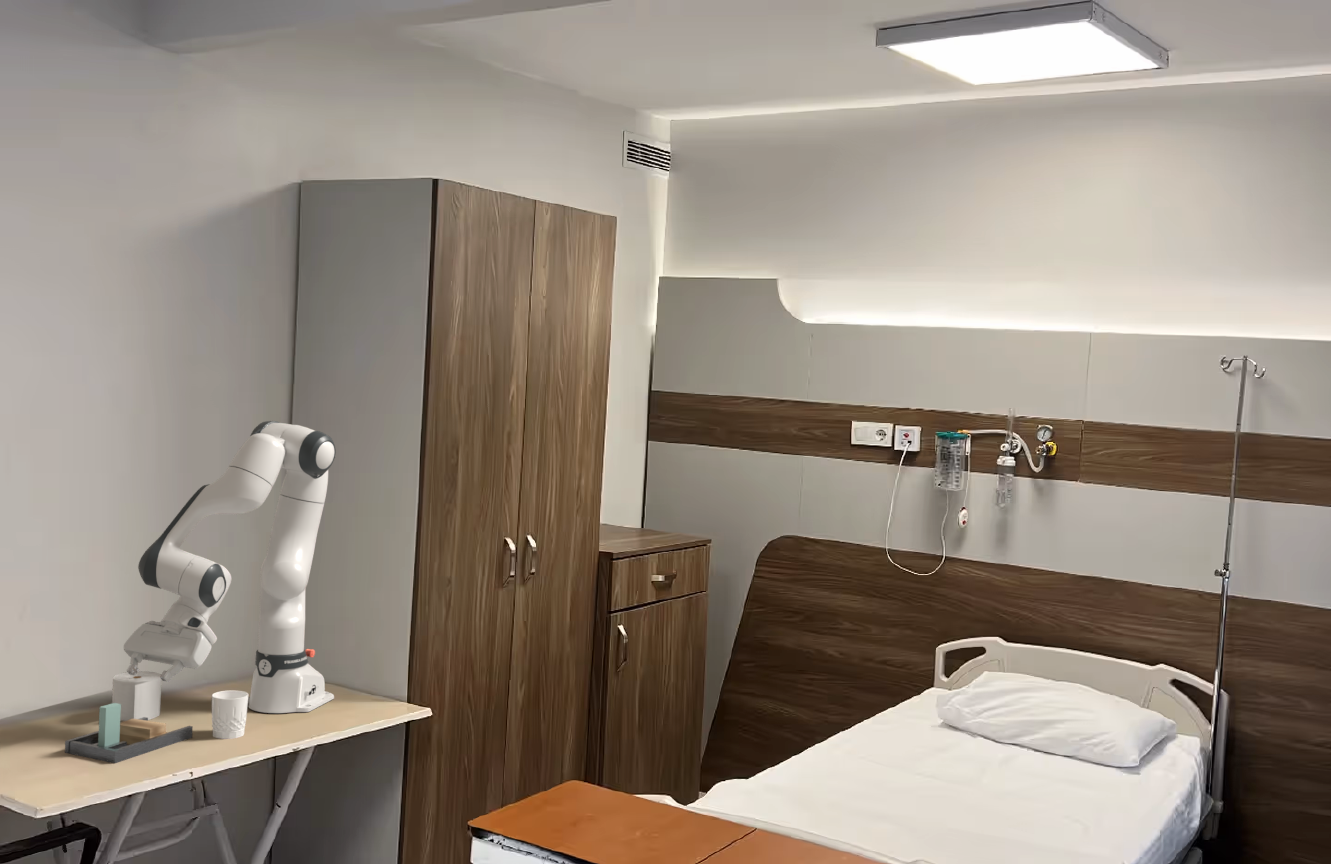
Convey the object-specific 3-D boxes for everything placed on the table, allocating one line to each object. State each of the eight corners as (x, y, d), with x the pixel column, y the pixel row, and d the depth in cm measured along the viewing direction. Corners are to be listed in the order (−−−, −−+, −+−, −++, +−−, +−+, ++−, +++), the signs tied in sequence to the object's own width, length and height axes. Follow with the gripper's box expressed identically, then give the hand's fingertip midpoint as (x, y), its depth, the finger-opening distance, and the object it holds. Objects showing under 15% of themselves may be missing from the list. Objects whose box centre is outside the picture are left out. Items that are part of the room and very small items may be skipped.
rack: (144, 731, 280) (144, 717, 279) (191, 740, 274) (192, 726, 274) (64, 756, 259) (65, 740, 259) (114, 767, 254) (115, 751, 254)
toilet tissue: (143, 709, 297) (145, 668, 297) (172, 719, 290) (174, 677, 290) (101, 717, 288) (103, 675, 288) (131, 728, 282) (132, 685, 281)
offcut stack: (133, 734, 274) (134, 716, 274) (168, 741, 270) (169, 723, 270) (111, 741, 268) (112, 723, 268) (146, 748, 265) (147, 730, 264)
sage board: (112, 748, 263) (114, 702, 263) (119, 750, 263) (120, 704, 262) (97, 753, 260) (99, 706, 259) (104, 754, 259) (106, 708, 259)
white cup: (209, 734, 280) (211, 690, 280) (245, 732, 283) (247, 689, 283) (210, 744, 273) (212, 699, 273) (247, 741, 276) (249, 698, 276)
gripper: (139, 611, 280) (103, 661, 271) (210, 623, 273) (176, 675, 264) (152, 628, 284) (117, 677, 276) (223, 640, 277) (189, 691, 268)
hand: (147, 676), depth 270 cm, fingers open, 8 cm apart
